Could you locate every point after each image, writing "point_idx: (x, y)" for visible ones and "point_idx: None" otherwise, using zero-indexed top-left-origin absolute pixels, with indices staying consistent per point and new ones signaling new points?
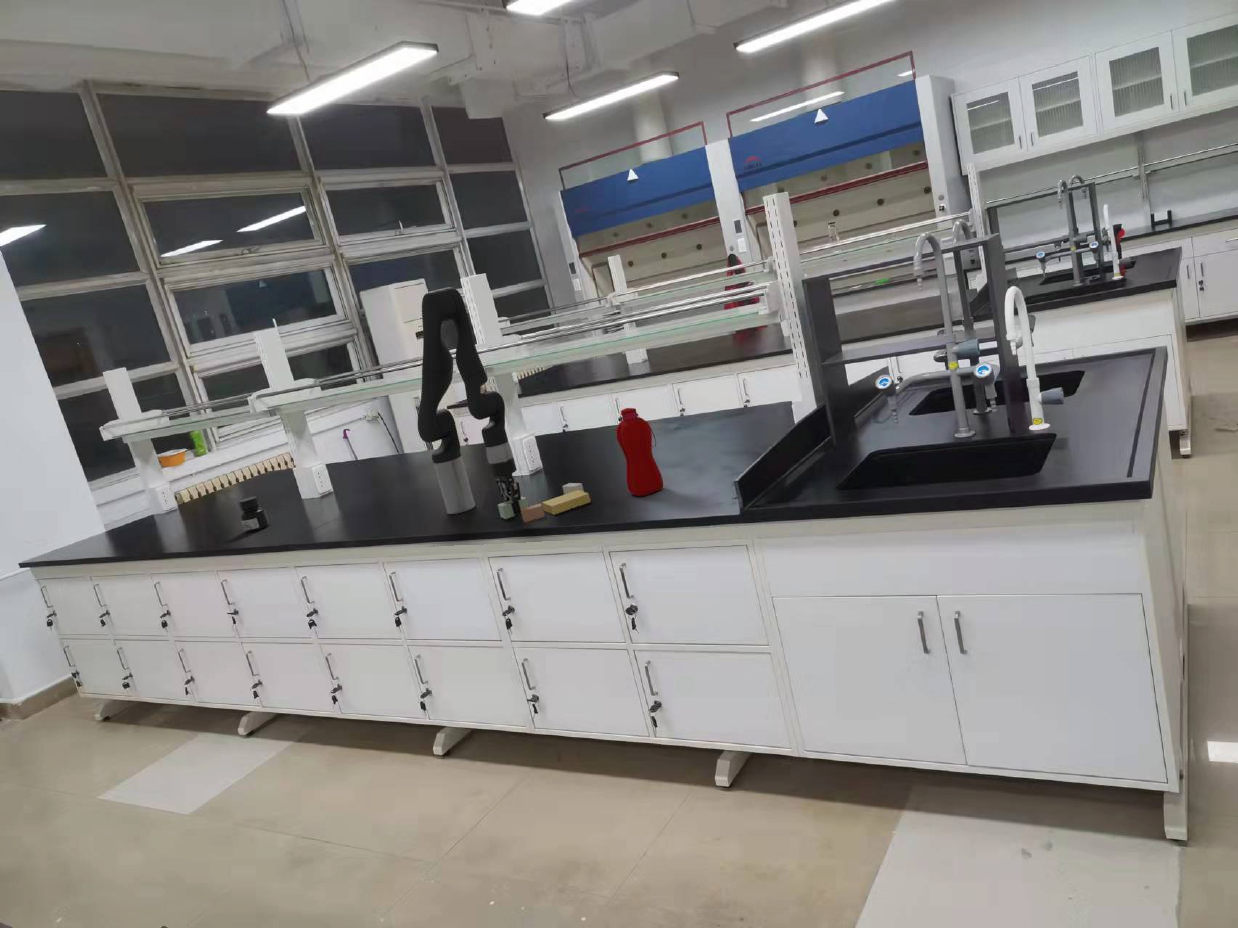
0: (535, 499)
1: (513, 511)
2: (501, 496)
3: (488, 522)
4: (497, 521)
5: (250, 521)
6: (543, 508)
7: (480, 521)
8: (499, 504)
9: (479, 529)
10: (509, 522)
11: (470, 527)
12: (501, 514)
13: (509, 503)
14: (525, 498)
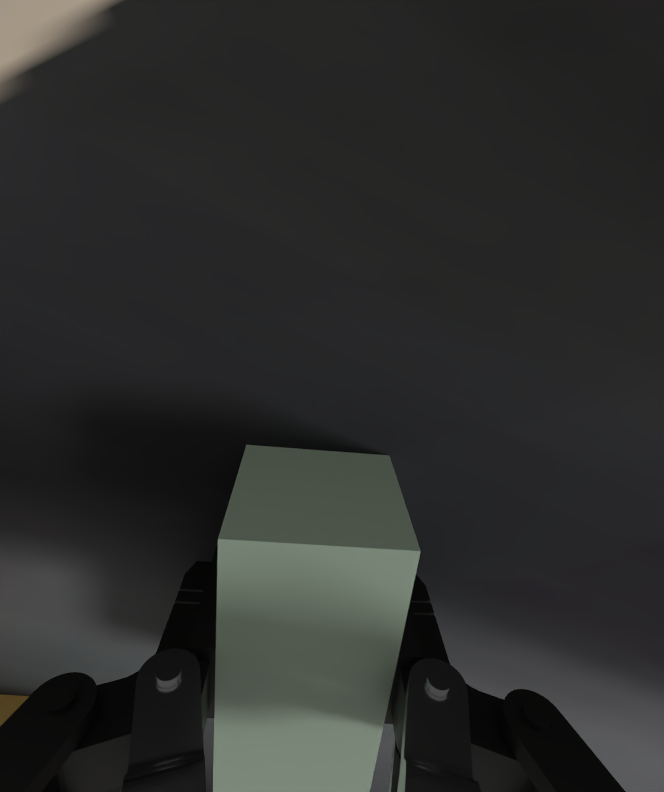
0: None
1: None
2: (537, 717)
3: (375, 293)
4: (272, 362)
5: None
6: None
7: (555, 267)
8: (389, 566)
9: (206, 59)
10: (50, 405)
11: (483, 45)
12: (346, 471)
13: (238, 639)
14: (215, 785)
